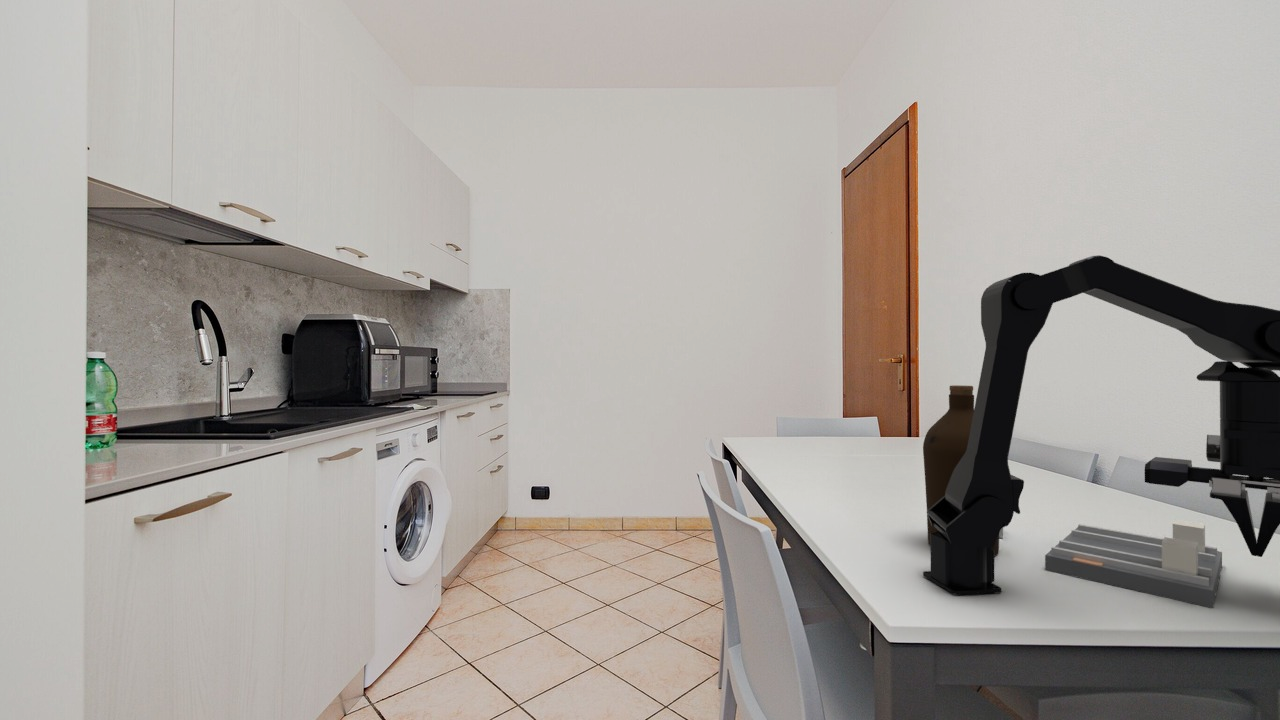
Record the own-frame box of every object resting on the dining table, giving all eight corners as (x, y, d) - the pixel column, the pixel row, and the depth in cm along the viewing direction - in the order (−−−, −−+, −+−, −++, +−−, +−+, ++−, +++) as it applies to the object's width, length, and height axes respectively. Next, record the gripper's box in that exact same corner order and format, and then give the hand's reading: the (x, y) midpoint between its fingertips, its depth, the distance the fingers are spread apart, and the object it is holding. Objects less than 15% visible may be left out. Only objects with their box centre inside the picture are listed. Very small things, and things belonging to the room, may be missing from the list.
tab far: (1203, 556, 74) (1203, 528, 75) (1172, 550, 77) (1172, 523, 77) (1205, 551, 76) (1204, 524, 77) (1175, 545, 79) (1174, 519, 79)
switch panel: (1212, 608, 64) (1212, 583, 64) (1045, 569, 76) (1045, 549, 76) (1222, 566, 77) (1221, 546, 77) (1078, 539, 89) (1078, 521, 89)
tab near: (1196, 578, 67) (1195, 548, 67) (1162, 571, 69) (1161, 542, 69) (1198, 572, 69) (1197, 542, 69) (1164, 566, 71) (1164, 537, 71)
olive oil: (988, 566, 77) (987, 387, 78) (911, 546, 85) (910, 385, 86) (1014, 549, 84) (1012, 385, 84) (940, 533, 92) (939, 384, 92)
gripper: (1380, 422, 62) (1381, 560, 62) (1155, 411, 76) (1156, 524, 76) (1395, 430, 55) (1397, 587, 55) (1143, 416, 69) (1144, 541, 69)
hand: (1256, 555), depth 64 cm, fingers closed
